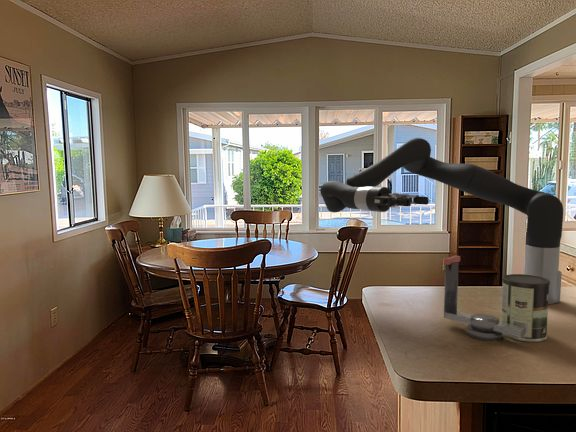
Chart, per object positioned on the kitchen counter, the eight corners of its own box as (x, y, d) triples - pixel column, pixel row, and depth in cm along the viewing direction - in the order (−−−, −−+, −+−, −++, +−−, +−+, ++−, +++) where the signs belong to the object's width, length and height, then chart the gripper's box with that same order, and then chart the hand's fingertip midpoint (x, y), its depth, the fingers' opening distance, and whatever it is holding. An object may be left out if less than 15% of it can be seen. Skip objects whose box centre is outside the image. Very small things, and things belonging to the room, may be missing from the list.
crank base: (508, 340, 106) (509, 334, 106) (477, 341, 105) (477, 335, 105) (490, 328, 114) (490, 322, 114) (460, 329, 113) (460, 323, 113)
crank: (528, 334, 105) (531, 266, 103) (517, 341, 101) (520, 270, 99) (450, 314, 120) (452, 254, 118) (438, 320, 115) (440, 258, 114)
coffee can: (538, 328, 114) (541, 274, 113) (553, 343, 104) (557, 284, 103) (495, 325, 116) (497, 272, 115) (506, 340, 106) (509, 283, 105)
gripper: (357, 187, 130) (404, 188, 118) (387, 185, 139) (433, 187, 127) (357, 212, 131) (403, 217, 119) (387, 209, 140) (433, 213, 128)
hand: (419, 201), depth 123 cm, fingers open, 8 cm apart
